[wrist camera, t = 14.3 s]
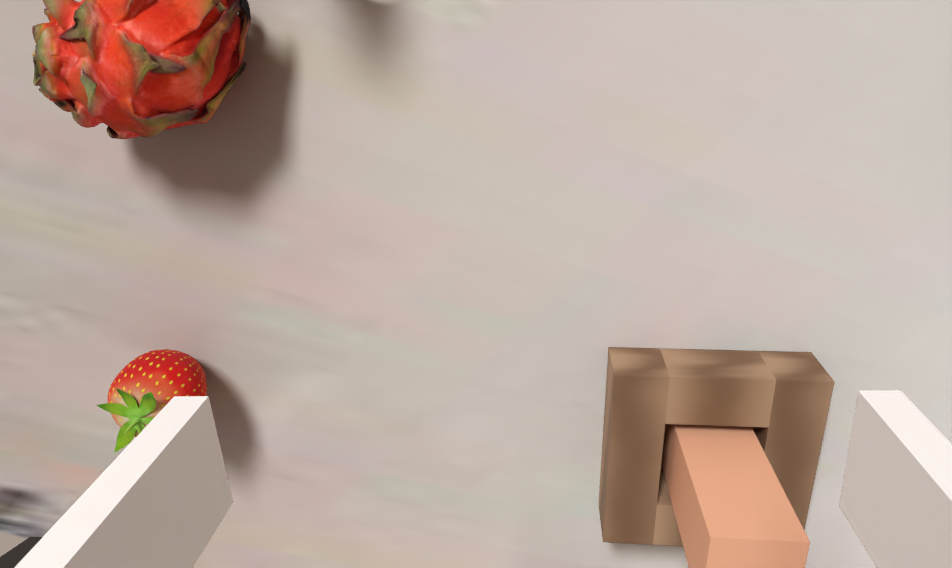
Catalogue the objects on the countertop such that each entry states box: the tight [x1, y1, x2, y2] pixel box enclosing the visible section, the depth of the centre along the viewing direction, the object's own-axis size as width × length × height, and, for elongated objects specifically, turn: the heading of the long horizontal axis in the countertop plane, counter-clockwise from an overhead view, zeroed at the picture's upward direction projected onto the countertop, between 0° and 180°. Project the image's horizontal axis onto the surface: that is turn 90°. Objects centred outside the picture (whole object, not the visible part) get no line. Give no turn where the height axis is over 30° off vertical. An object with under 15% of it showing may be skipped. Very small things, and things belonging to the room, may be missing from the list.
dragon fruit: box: [32, 0, 251, 139], centre depth 34 cm, size 8×8×12 cm
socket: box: [599, 347, 834, 546], centre depth 42 cm, size 12×12×4 cm
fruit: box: [97, 349, 207, 452], centre depth 41 cm, size 5×5×8 cm
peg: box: [661, 424, 810, 568], centre depth 38 cm, size 4×4×12 cm
